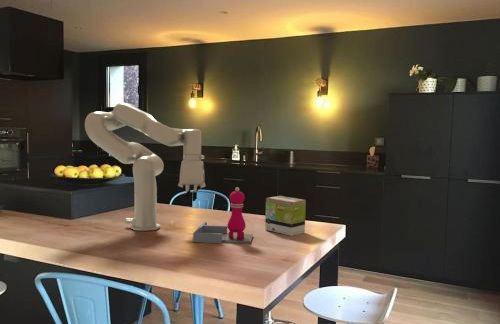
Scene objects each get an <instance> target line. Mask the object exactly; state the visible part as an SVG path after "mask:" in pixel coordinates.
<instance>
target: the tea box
mask: <svg viewBox="0 0 500 324" xmlns="http://www.w3.org/2000/svg"><path fill="white" fill-rule="evenodd" d="M306 202H307V201H306V199H302V198H297V197H289V196H283V195H277V196H271V197H266V198H265V217H264V219H265V222H264V223H265V225H264V226H265V228H264V229H265V231H270V232H274V233H279V234H281V235H286V236H290V237H292V236H293V237H294V236H297V235H300V234H304V233H306V206H307V205H306Z"/></svg>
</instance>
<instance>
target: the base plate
mask: <svg viewBox="0 0 500 324" xmlns="http://www.w3.org/2000/svg"><path fill="white" fill-rule="evenodd" d="M253 237H254V234H253V233H251V234H250V233H244V237H243V238H240V239H237V232H233V238H229V232H227V233H224V234H223V235H222V243H223V244H244V245H245V244H246V245H248V244H251V243H252V240H253ZM222 243H221V244H222Z"/></svg>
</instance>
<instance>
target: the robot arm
mask: <svg viewBox="0 0 500 324" xmlns="http://www.w3.org/2000/svg"><path fill="white" fill-rule="evenodd" d="M112 109H113V110H111V111H109V112H108V111H107V112H106V111H94V112H93V111H92V112H90V113H88V114H87V116H86V118H85V120H84V130H85V133H86V135H87V136H88V138H89V139H90V140H91V141H92V142H93V143H94V144H95V145H96V146H98V147H99V148H101V149H102V150H104V151H105V152H106V153H107V154H109V155H110V156H112V157H113V158H115V159H116V160H118V161H119V162H120V163H122V164H124V165H127V164H128V165H130V164H133V165H132V174H133V175H132V177H133V183H134V185H133V186H134V188H133V189H134V190H133V191H134V200H133V201H134V206H133V207H134V211H133V212H134V214H133V215H134V217H132V218H130V217H126V218H125V220H124V222H125V223H126V224H131V225H130V229H131V230H132V229H133V230H132V231H138V232H146V231H147V232H148V231H156V230H158V229H160V228H161V224H160V223H157V217H158V215H157V213H158V212H157V211H158V210H157V206H158V205H157V204H158V201H157V200H158V199H157V198H158V196H157V194H158V192H157V191H158V186H157V179H156V177H157V176H159V175H160V174H162V173H163V171H164V167H165V166H164V161H163V160H162V158H161V157H160V156H158V155H157V154H156V153H154V152H153V151H151V150H150V149H148V148H147V147H145V146H144V145H143V144H141V143H139V142H136V141H135V142H134V141H131V142H129V141H126V140H125V139H123V138H122V137H120V136H118V135H117V134H116V133H115V132H112V131H115V130H118V129H121V128H123V127H126V126H128V127H130V128H132V129H134V130H135V131H139V132H140V133H143V134H144V135H146V136H147V137H149V138H150V139H153V141H156V142H158V143H160V144H162V145H165V146H168V147H178V146H180V147H181V146H183V147H182V148H183V150H182V152H183V155H182V156H183V157H182V161H181V162H180V163H181V165H180V169H179V182H178V184H177V186H178V187H180V188H183V190H184V191H185V192H186V199H187V202H190V201H191V200H192V202H196V200H198V191H199V190H200V189H202V188H205V187H206V186H207V185H206V183H205V166H204V165H205V164H204V161H202V160H204V159H205V155H202V131H201V130H200V129H197V128H196V129H195V128H194V129H193V128H191V129H190V128H188V129H184V128H183V129H182V128H174V127H170V126H168V125H165V124H163V123H162V122H159V121H157V119H155V118H154V117H153V115H152V114H150V113H148V112H146V111H143V110H141V109H140V108H138V107H137V105H134V104H133V103H128V102H120V103H118V104H116V105H114V107H113V108H112ZM192 185H193V190H192V191H191V188H190V187H191V186H192Z"/></svg>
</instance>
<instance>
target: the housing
mask: <svg viewBox="0 0 500 324" xmlns="http://www.w3.org/2000/svg"><path fill="white" fill-rule="evenodd" d="M207 222H208V221H203V222H202V223H201V225H199V227H197V228H196V230H194V232H193V233H192V234H193V235H192V242H193V243H206V244H207V243H210V244H211V243H212V244H222V236H223V234H224V233H228V227H227V226H228V225H215V224H214V225H212V224H211V225H210V224H209V225H208V224H207Z"/></svg>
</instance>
